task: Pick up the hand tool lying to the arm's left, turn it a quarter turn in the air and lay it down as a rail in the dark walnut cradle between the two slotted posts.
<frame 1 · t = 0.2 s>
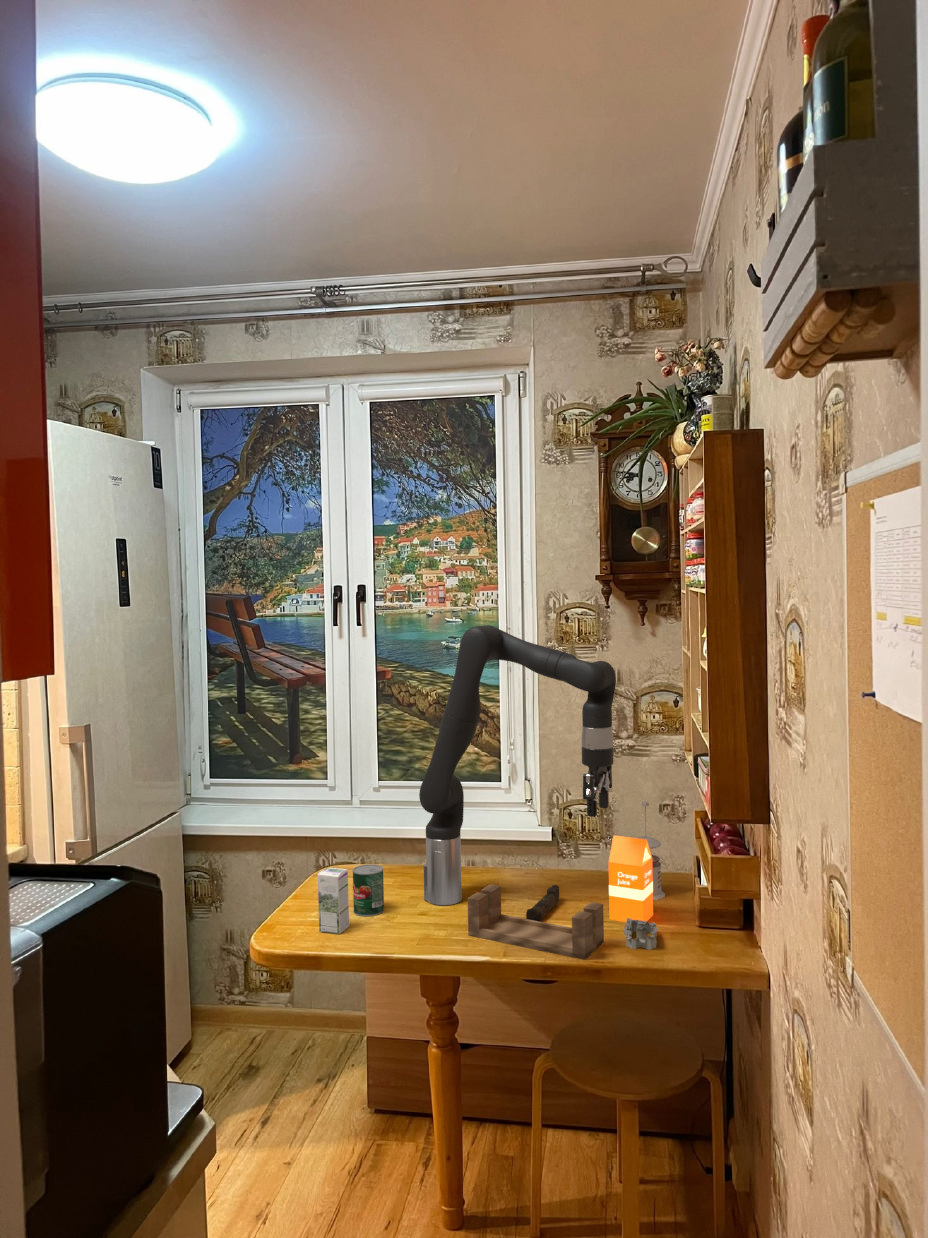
hand: (598, 812, 216), 28 cm above the table, tool pointing down, fingers open, 8 cm apart
cradle: (535, 939, 211), on the table
orange juice: (631, 918, 224), on the table
syrup box: (334, 930, 220), on the table
french press: (646, 895, 239), on the table
egg carton: (640, 942, 209), on the table
hand tool: (544, 912, 229), on the table
canned tomato: (369, 912, 232), on the table
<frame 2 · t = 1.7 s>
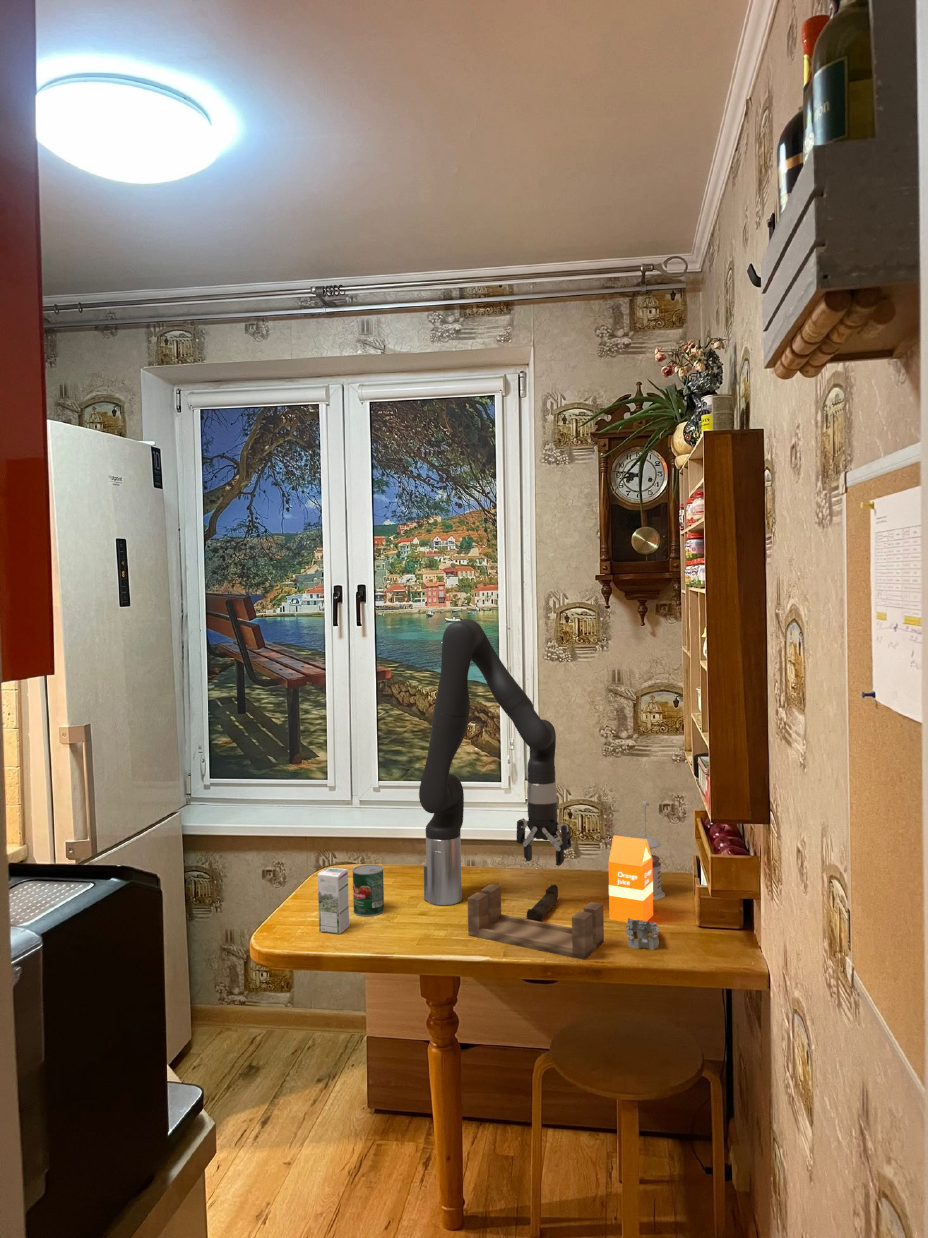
hand: (544, 862, 229), 12 cm above the table, tool pointing down, fingers open, 8 cm apart
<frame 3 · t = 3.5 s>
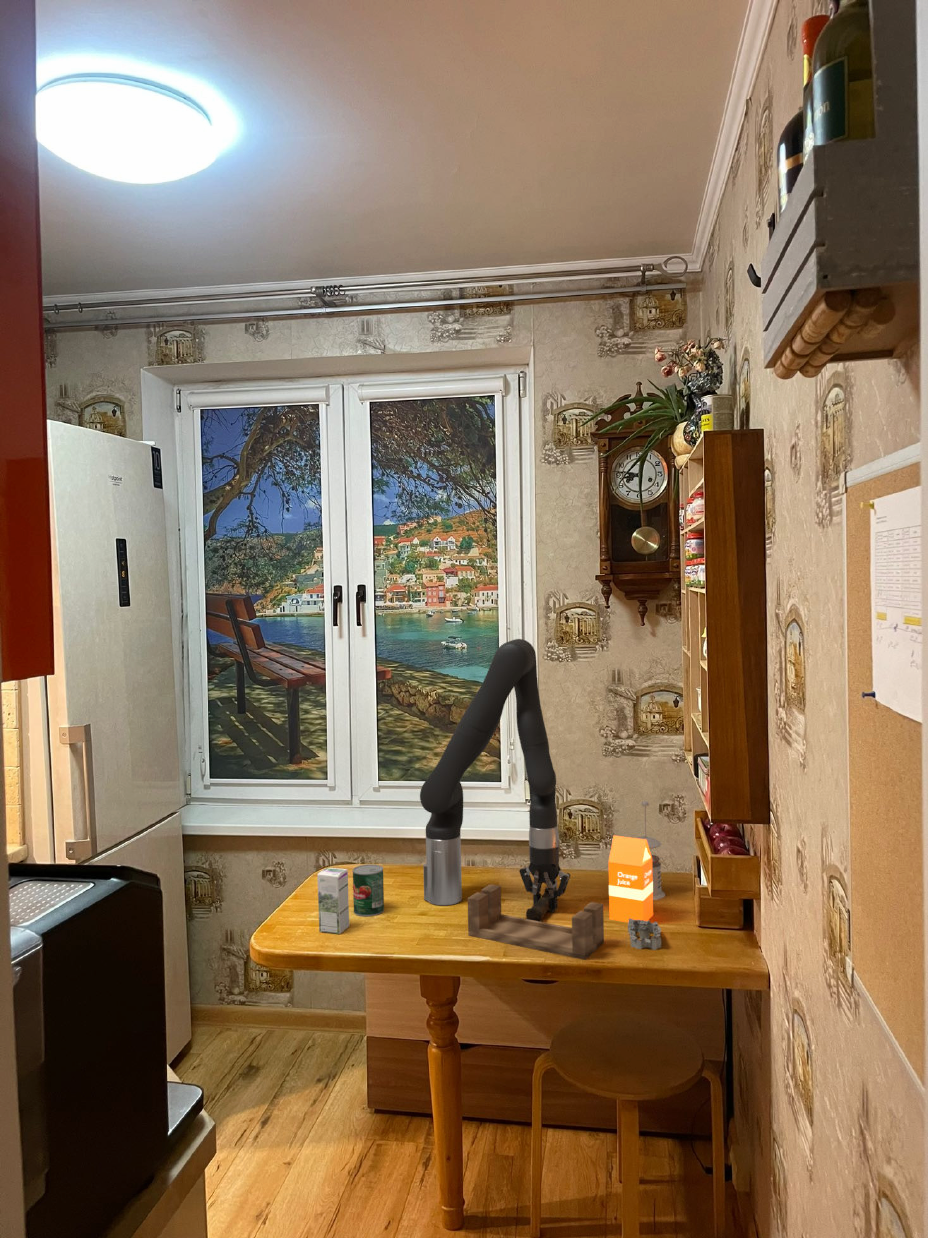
hand: (545, 909, 229), 0 cm above the table, tool pointing down, fingers closed on hand tool, 3 cm apart
hand tool: (543, 911, 229), on the table, touching gripper
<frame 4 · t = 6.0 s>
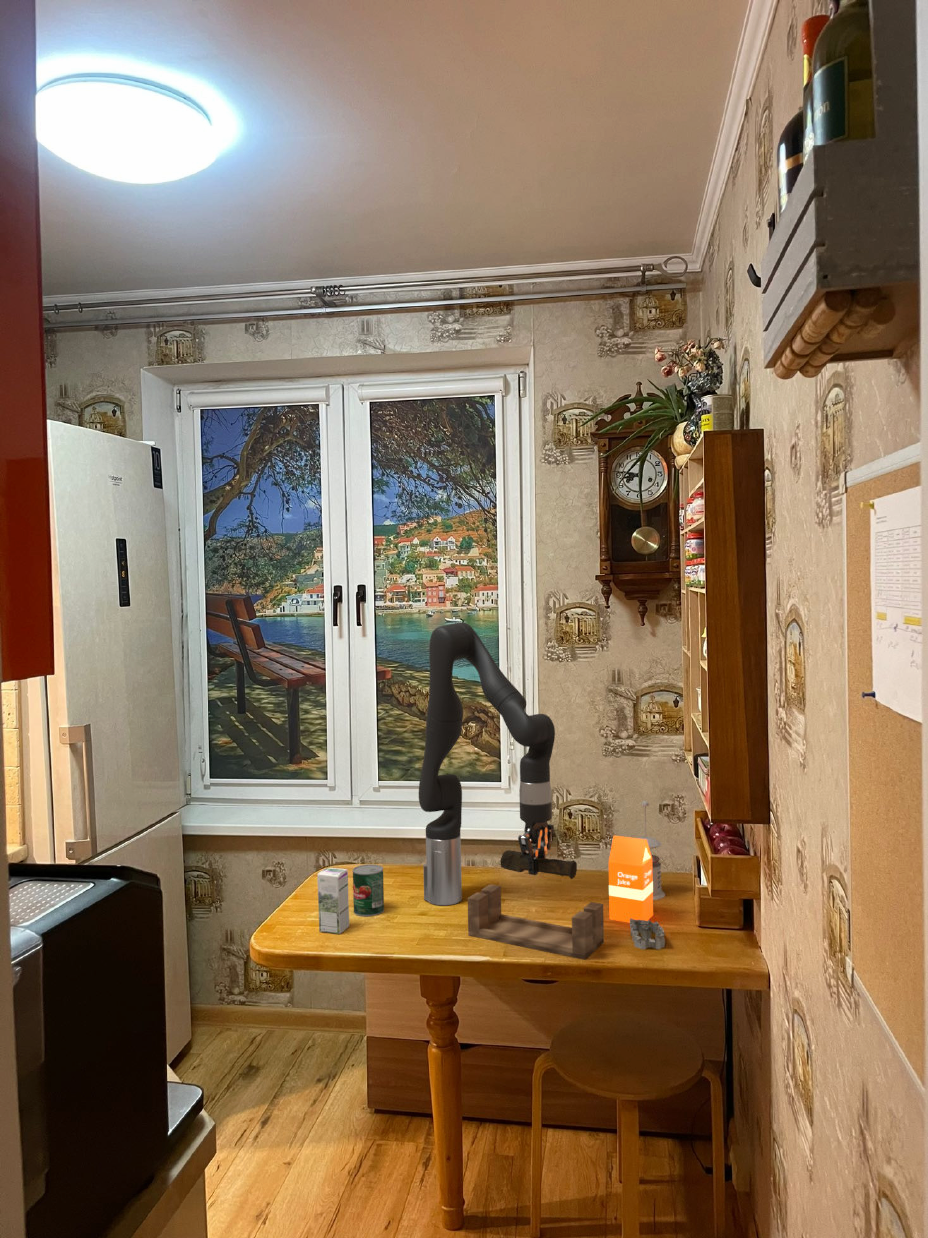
hand: (537, 871, 212), 15 cm above the table, tool pointing down, fingers closed on hand tool, 3 cm apart
hand tool: (536, 875, 211), point 15 cm above the table, touching gripper
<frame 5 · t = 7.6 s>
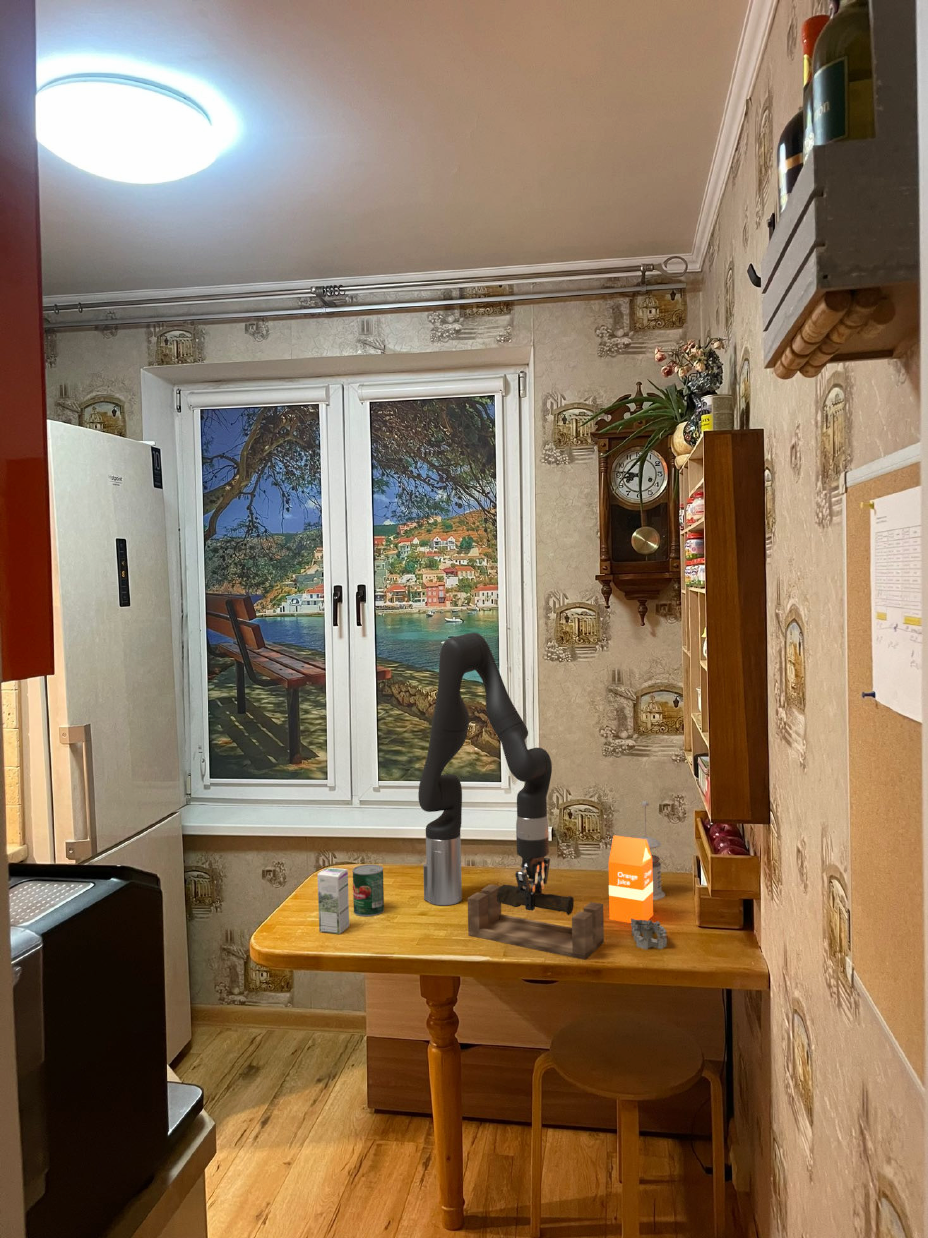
hand: (533, 906, 211), 8 cm above the table, tool pointing down, fingers closed on hand tool, 3 cm apart
hand tool: (533, 910, 210), point 7 cm above the table, touching gripper
when the fingers open (3 cm above the table, at t = 8.7 s): hand tool drops 2 cm, resting on cradle.
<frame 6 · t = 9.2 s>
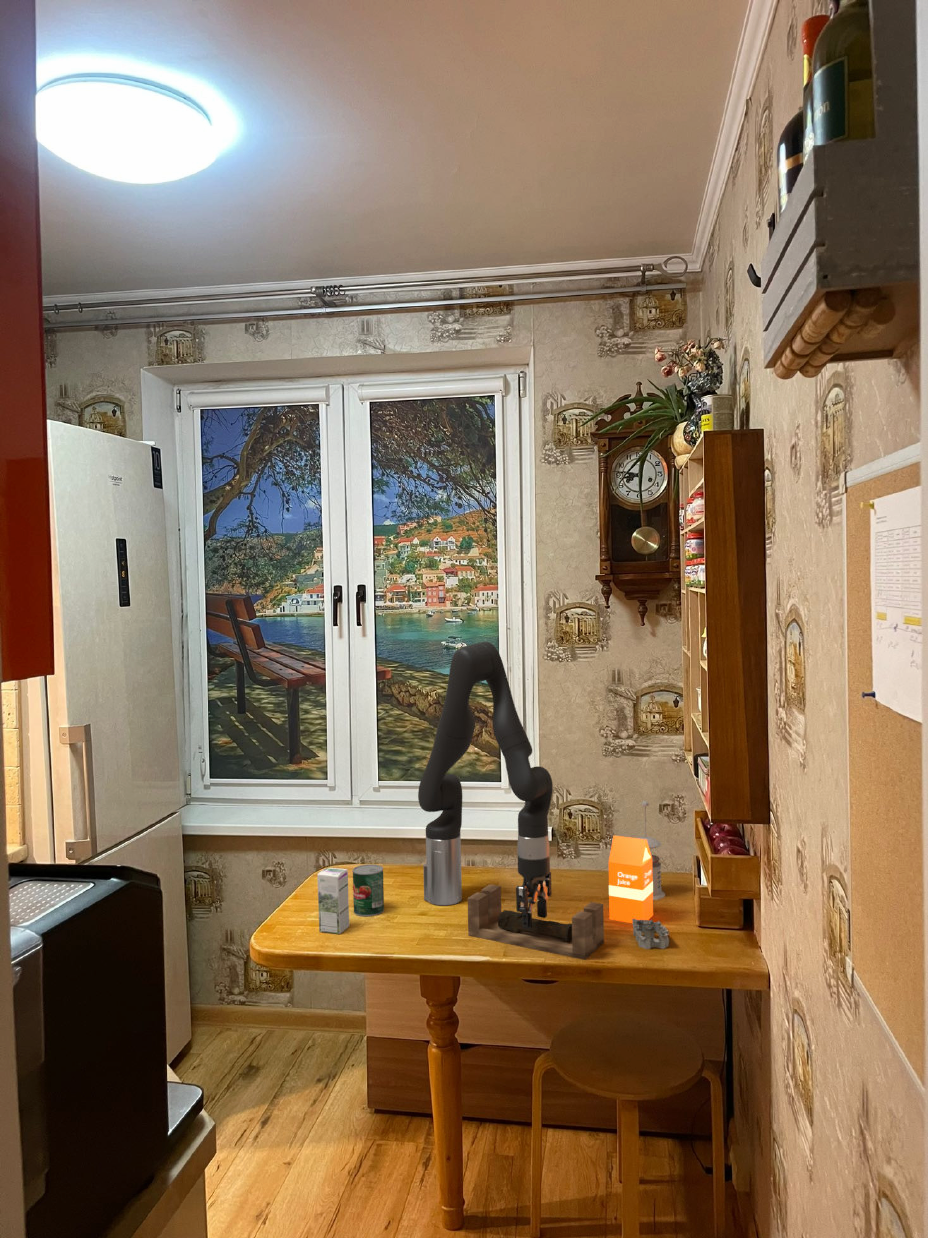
hand: (534, 922, 211), 4 cm above the table, tool pointing down, fingers open, 7 cm apart
hand tool: (533, 936, 211), point 1 cm above the table, touching cradle
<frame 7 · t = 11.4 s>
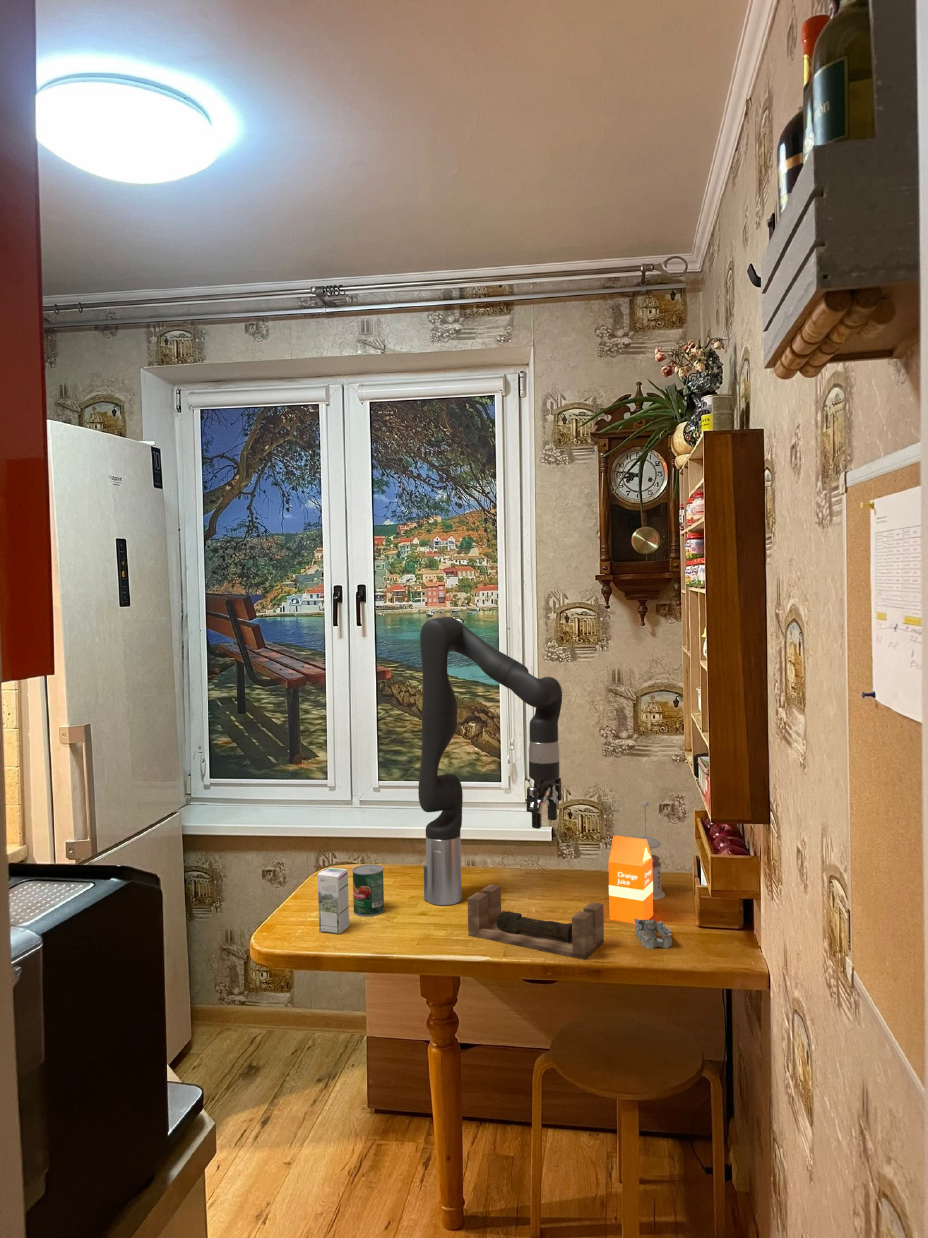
hand: (544, 824, 222), 24 cm above the table, tool pointing down, fingers open, 8 cm apart
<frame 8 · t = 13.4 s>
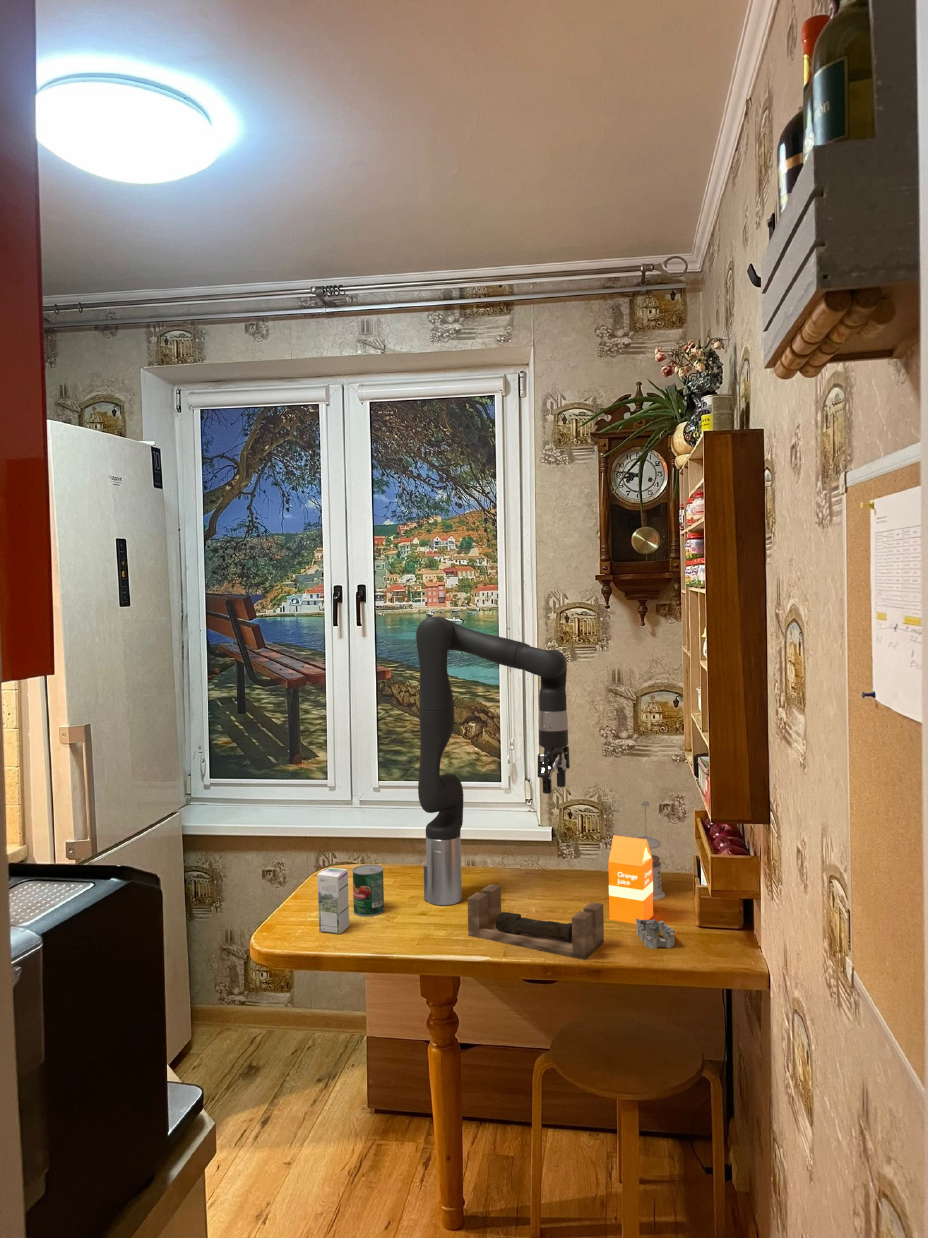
hand: (554, 790, 232), 30 cm above the table, tool pointing down, fingers open, 8 cm apart
at the end: hand tool inside the target area on the cradle (1.2 cm from its centre), point 0.8 cm above the cradle's base; the gripper is holding nothing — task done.
